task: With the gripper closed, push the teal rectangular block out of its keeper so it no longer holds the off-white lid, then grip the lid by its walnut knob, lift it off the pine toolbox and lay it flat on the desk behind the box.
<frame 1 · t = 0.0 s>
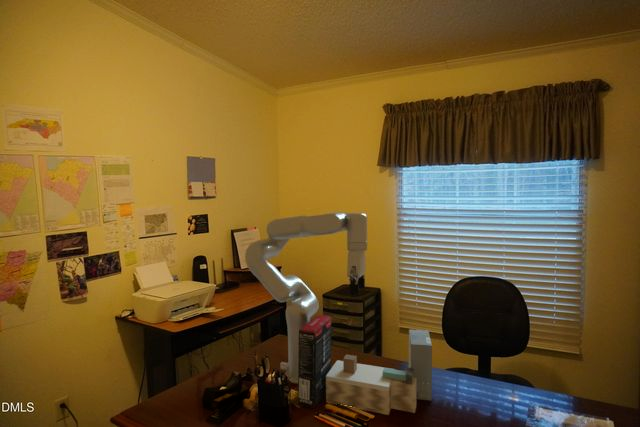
hand: (357, 291, 136), 37 cm above the table, tool pointing down, fingers open, 9 cm apart
graphics card box: (316, 396, 132), on the table
toolbox lid: (361, 376, 129), point 8 cm above the table, touching toolbox
teal rectangular block: (397, 374, 125), point 11 cm above the table, slide at 0.0 cm
hard drive box: (419, 389, 136), on the table
toolbox: (361, 398, 130), on the table
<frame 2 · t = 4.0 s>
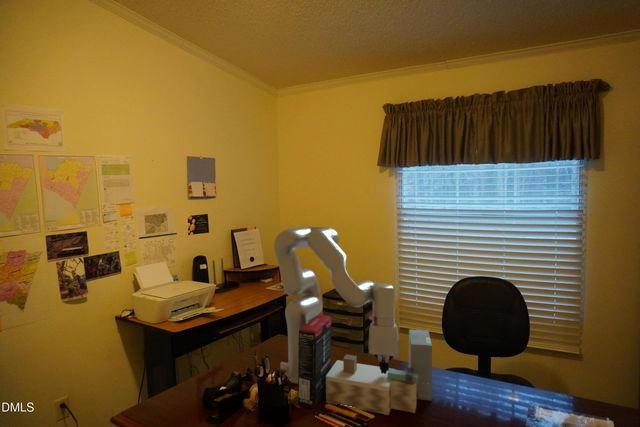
hand: (384, 371, 126), 11 cm above the table, tool pointing down, fingers closed
teal rectangular block: (402, 375, 124), point 11 cm above the table, slide at 1.7 cm, touching gripper
everything else where it was.
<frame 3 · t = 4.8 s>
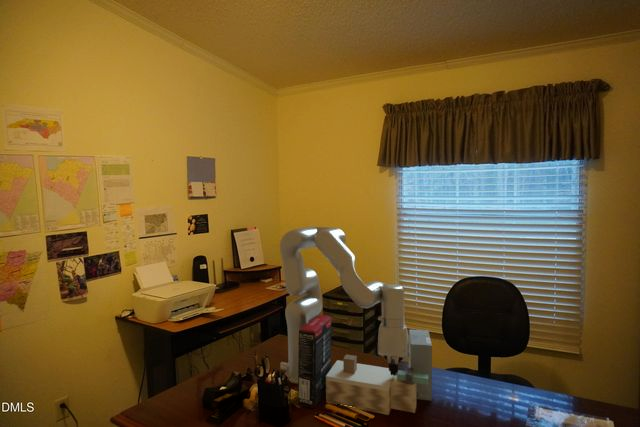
hand: (393, 373, 125), 11 cm above the table, tool pointing down, fingers closed
teal rectangular block: (412, 377, 123), point 11 cm above the table, slide at 5.0 cm, touching gripper
everything else where it was.
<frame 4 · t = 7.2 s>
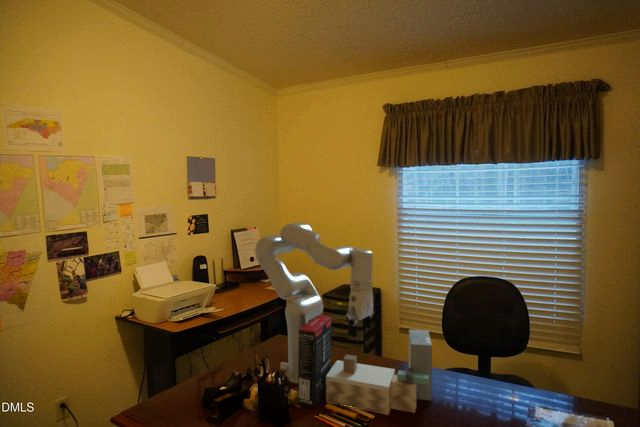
hand: (359, 331, 129), 24 cm above the table, tool pointing down, fingers open, 9 cm apart
teal rectangular block: (412, 377, 123), point 11 cm above the table, slide at 5.1 cm
everything else where it was.
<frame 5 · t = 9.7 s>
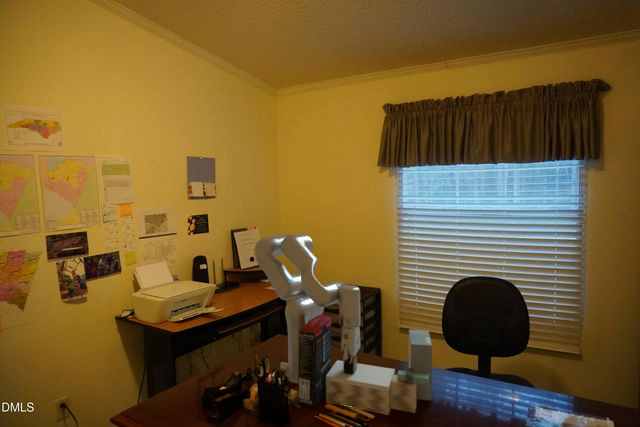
hand: (350, 370, 131), 10 cm above the table, tool pointing down, fingers closed on toolbox lid, 3 cm apart
toolbox lid: (361, 376, 129), point 8 cm above the table, touching gripper, toolbox
everything else where it was.
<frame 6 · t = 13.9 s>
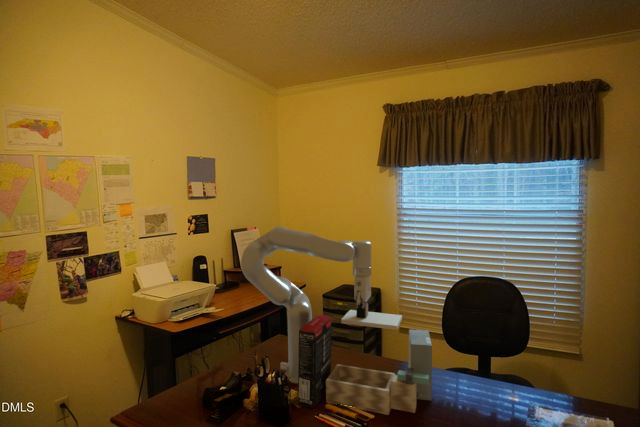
hand: (362, 315, 147), 24 cm above the table, tool pointing down, fingers closed on toolbox lid, 3 cm apart
toolbox lid: (372, 320, 146), point 22 cm above the table, touching gripper
everything else where it was.
when the fingers open (3 cm above the table, at t = 18.0 s): toolbox lid drops 2 cm, on the table.
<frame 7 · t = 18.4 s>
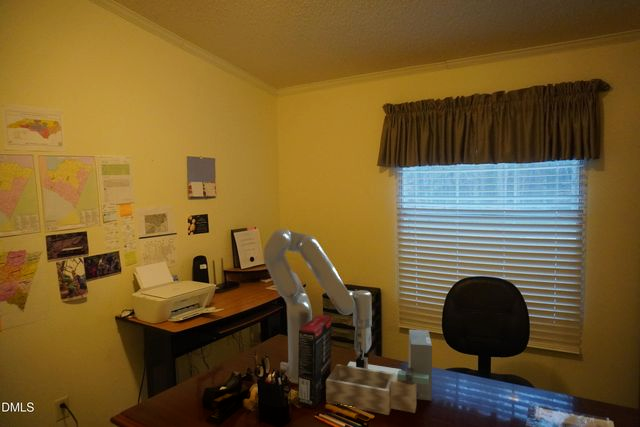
hand: (362, 363, 148), 4 cm above the table, tool pointing down, fingers open, 7 cm apart
toolbox lid: (371, 375, 147), on the table
everything else where it was.
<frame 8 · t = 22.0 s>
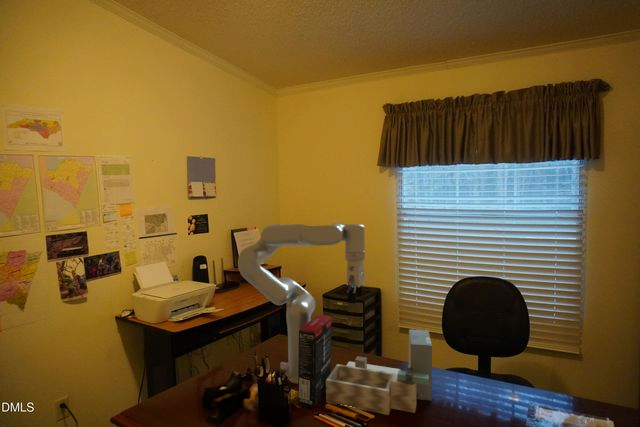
hand: (355, 299, 141), 32 cm above the table, tool pointing down, fingers open, 9 cm apart
nothing on the table moved.
at the end: teal rectangular block slide at 5.1 cm; toolbox lid inside the target area (0.7 cm from its centre), on the table; toolbox lid tilted 0° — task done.
